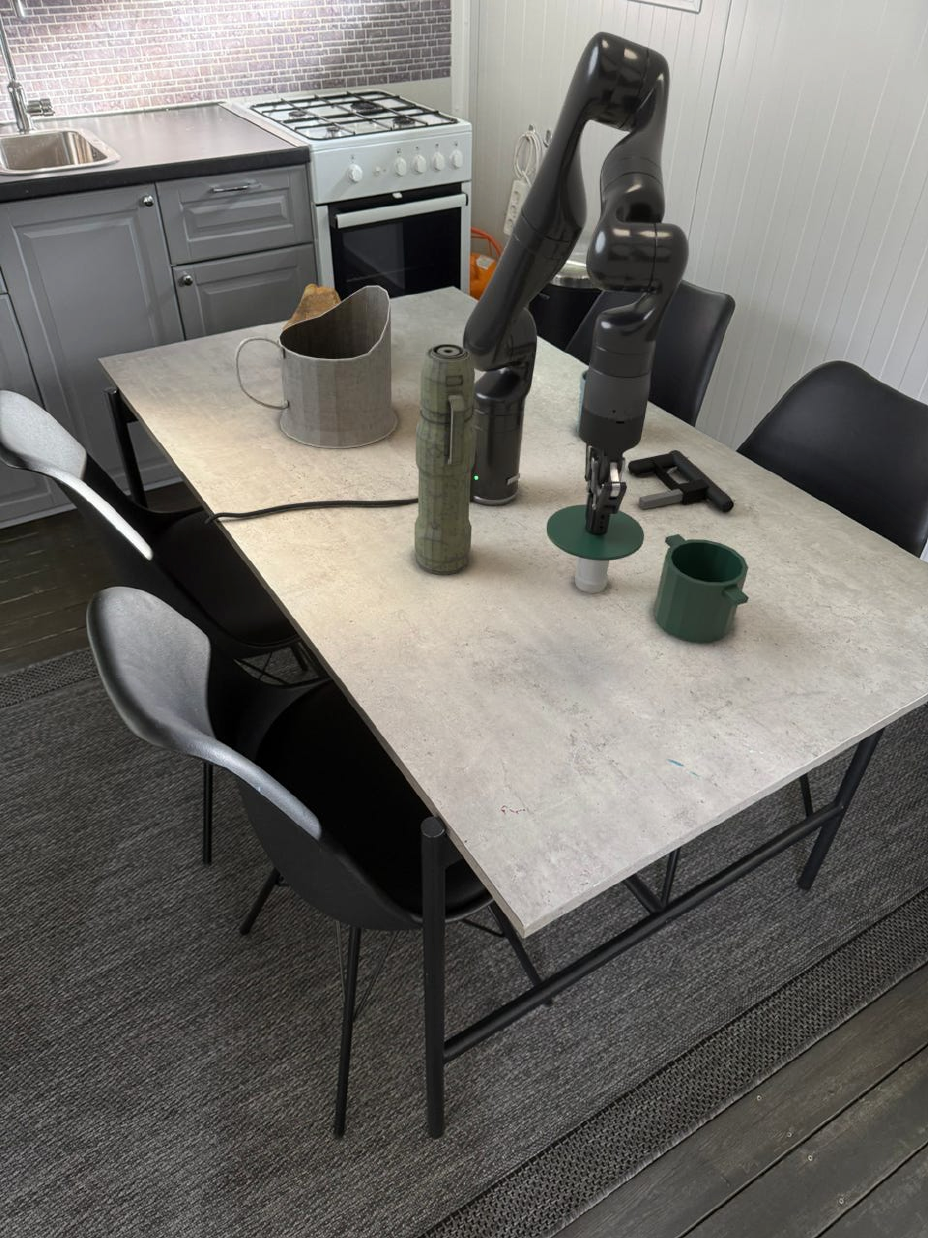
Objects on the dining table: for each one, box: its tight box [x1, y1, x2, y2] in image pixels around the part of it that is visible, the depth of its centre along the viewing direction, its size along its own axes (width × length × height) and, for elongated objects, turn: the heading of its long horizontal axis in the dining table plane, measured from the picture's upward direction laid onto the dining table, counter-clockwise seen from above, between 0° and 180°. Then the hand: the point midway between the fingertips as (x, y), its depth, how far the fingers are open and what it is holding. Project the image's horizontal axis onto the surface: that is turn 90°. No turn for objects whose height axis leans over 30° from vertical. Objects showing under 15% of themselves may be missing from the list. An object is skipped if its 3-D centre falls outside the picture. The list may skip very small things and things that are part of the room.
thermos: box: [414, 343, 476, 576], centre depth 136 cm, size 9×12×35 cm
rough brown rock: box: [276, 283, 342, 344], centre depth 200 cm, size 23×17×15 cm
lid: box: [545, 493, 645, 562], centre depth 116 cm, size 13×13×6 cm
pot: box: [653, 533, 750, 644], centre depth 134 cm, size 12×17×10 cm
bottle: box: [574, 492, 621, 594], centre depth 135 cm, size 5×5×25 cm
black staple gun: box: [627, 449, 736, 514], centre depth 166 cm, size 3×20×16 cm
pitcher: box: [233, 285, 398, 449], centre depth 174 cm, size 23×32×25 cm
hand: (595, 525), depth 117 cm, fingers closed on lid, 2 cm apart
